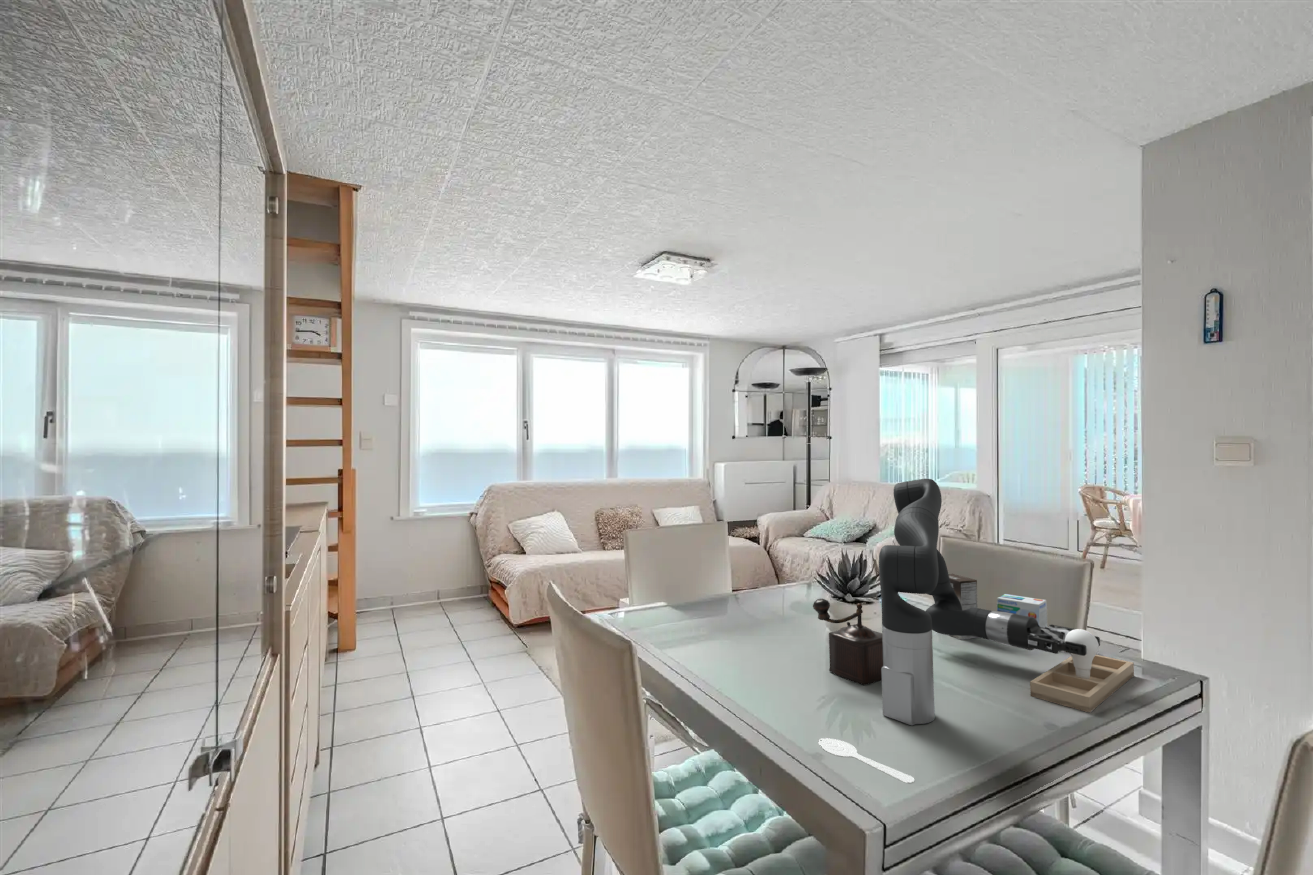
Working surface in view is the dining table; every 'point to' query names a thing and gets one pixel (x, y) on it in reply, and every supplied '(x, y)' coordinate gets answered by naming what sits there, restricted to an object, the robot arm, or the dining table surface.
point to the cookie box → (964, 594)
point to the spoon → (860, 757)
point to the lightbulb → (1091, 643)
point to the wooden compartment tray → (1082, 683)
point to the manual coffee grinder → (853, 647)
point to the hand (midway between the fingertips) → (1092, 646)
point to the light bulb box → (1024, 607)
